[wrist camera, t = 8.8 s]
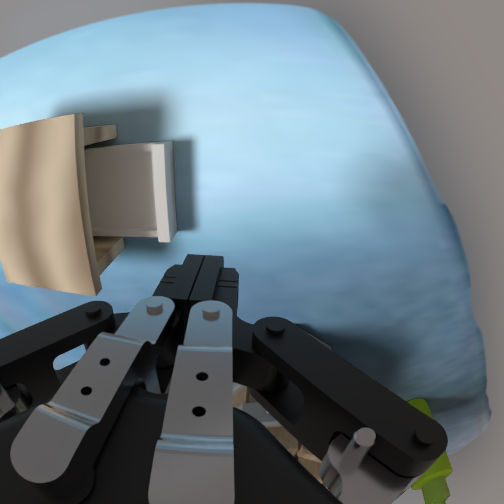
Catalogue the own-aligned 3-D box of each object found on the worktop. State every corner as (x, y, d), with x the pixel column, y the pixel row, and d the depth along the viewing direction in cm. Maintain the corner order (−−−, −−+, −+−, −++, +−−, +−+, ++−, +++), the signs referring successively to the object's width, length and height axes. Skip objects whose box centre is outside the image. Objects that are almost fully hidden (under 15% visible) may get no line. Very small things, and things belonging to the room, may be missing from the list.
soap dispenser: (399, 427, 40) (427, 530, 22) (386, 412, 38) (416, 530, 20) (431, 410, 38) (467, 512, 20) (421, 393, 36) (463, 509, 18)
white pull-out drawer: (172, 141, 24) (164, 143, 22) (177, 231, 27) (170, 242, 25) (36, 155, 24) (21, 160, 22) (47, 230, 28) (34, 239, 25)
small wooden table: (116, 110, 23) (74, 113, 17) (125, 259, 29) (96, 296, 22) (26, 125, 23) (-20, 135, 17) (42, 252, 29) (7, 281, 23)
